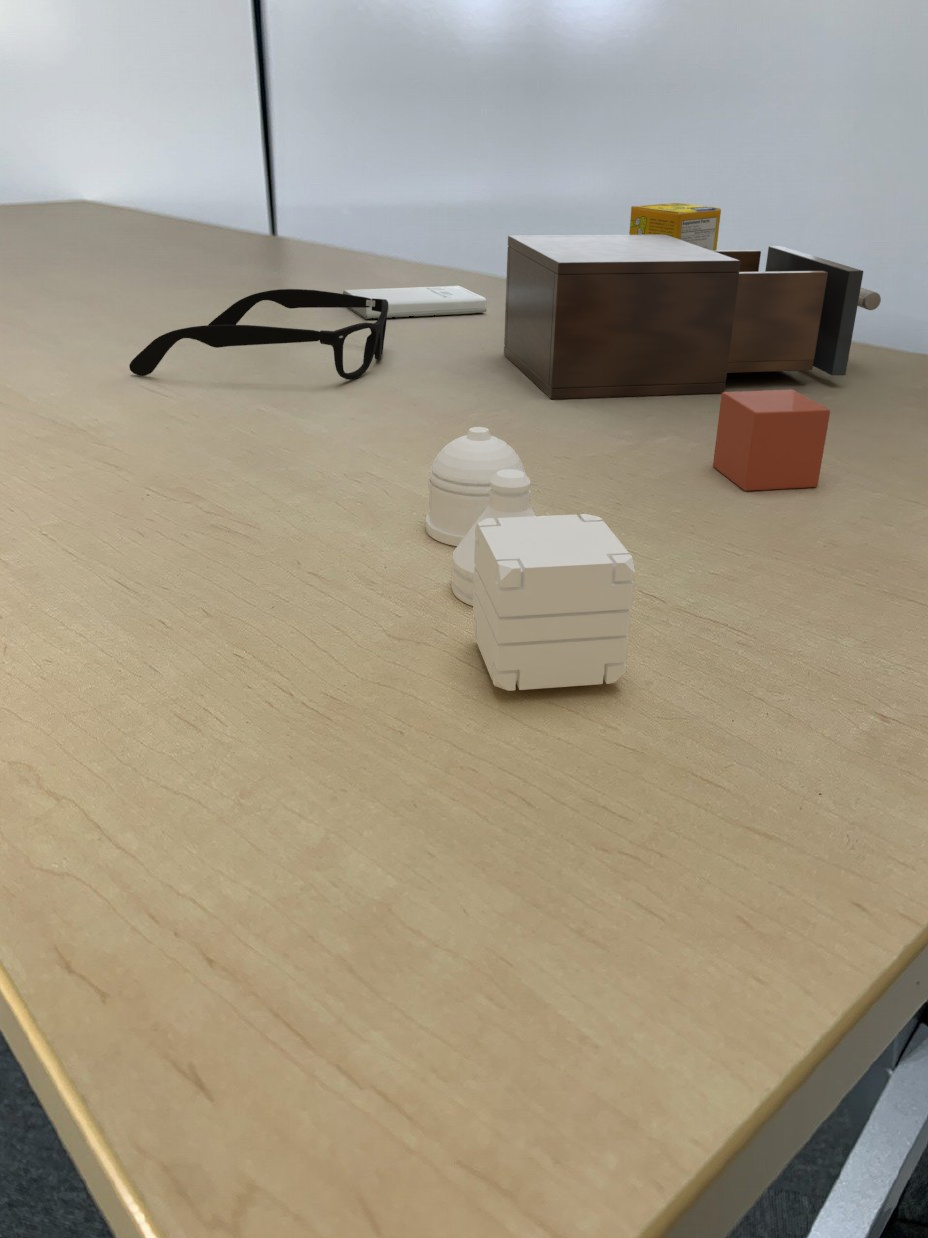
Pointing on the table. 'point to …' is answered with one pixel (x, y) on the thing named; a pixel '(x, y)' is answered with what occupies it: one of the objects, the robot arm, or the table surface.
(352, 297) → the glasses
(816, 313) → the drawer
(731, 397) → the block
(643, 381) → the cabinet
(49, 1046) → the table surface
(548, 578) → the container set
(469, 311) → the hard drive
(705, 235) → the supplement box
